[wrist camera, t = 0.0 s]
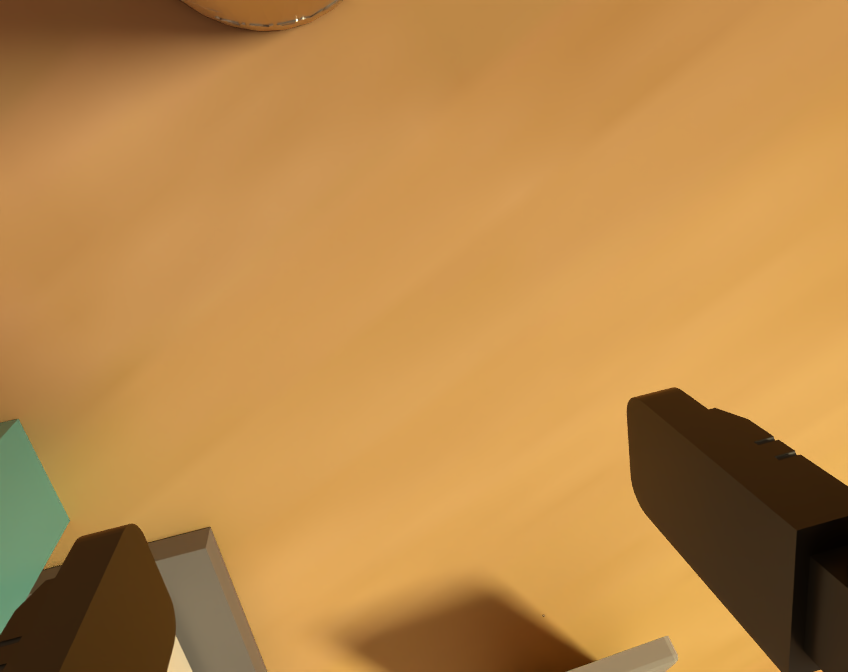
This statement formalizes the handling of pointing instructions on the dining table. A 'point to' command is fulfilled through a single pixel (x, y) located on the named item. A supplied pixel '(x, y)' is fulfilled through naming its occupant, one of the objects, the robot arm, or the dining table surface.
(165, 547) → the rail board
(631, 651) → the light switch
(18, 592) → the block
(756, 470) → the robot arm
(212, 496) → the dining table surface
